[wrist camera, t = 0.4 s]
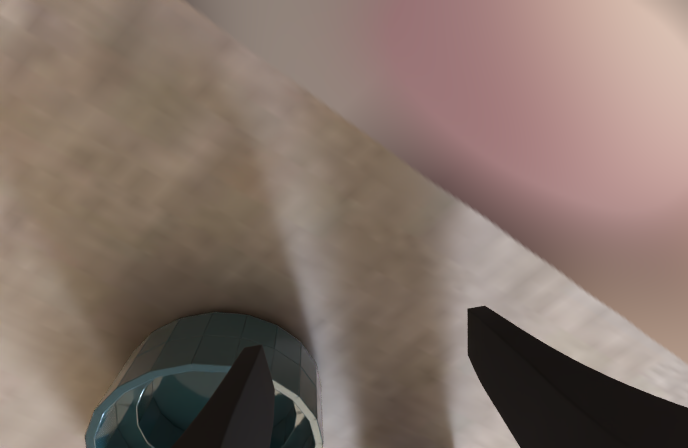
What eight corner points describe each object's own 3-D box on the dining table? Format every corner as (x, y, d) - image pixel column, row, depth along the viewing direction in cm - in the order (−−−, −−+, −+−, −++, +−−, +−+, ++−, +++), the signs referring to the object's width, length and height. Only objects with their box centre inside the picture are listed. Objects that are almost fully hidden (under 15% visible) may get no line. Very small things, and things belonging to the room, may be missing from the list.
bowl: (333, 429, 27) (338, 500, 23) (168, 461, 27) (138, 539, 22) (300, 290, 22) (297, 343, 18) (97, 327, 22) (41, 391, 17)
